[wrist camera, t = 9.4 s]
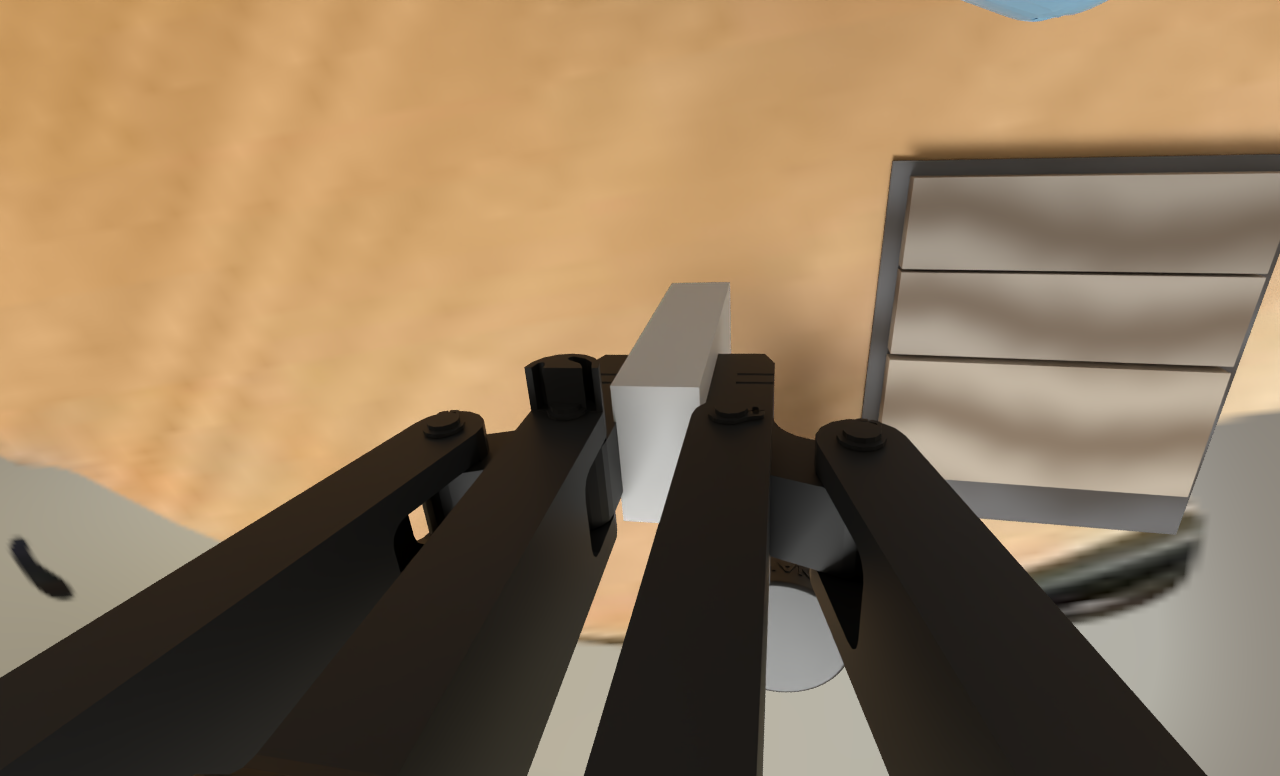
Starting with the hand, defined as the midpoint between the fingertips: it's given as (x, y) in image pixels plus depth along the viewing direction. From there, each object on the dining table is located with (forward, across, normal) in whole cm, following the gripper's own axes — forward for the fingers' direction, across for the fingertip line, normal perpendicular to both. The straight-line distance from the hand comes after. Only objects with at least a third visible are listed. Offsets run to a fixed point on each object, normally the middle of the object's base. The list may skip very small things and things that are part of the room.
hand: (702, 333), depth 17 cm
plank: (+23, +17, -14) cm, 32 cm away
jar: (+24, +2, -22) cm, 33 cm away
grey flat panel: (+24, +18, -10) cm, 31 cm away
